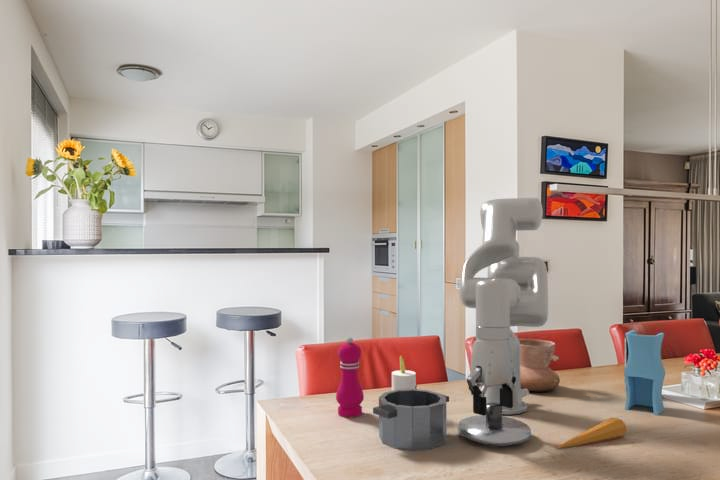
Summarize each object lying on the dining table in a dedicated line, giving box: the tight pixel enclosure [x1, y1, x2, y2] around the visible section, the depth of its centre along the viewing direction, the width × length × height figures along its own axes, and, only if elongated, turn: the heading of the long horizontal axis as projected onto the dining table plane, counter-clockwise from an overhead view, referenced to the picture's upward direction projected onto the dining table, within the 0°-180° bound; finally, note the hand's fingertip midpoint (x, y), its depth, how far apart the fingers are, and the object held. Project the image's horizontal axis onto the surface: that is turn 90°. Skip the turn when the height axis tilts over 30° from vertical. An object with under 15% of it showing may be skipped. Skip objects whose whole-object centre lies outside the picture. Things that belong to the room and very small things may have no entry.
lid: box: [457, 403, 532, 447], centre depth 121 cm, size 16×16×8 cm
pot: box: [372, 388, 450, 451], centre depth 121 cm, size 19×15×9 cm
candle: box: [391, 355, 418, 391], centre depth 139 cm, size 6×6×15 cm
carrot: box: [555, 417, 628, 449], centre depth 118 cm, size 20×4×4 cm, turn 114°
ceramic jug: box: [518, 338, 561, 393], centre depth 163 cm, size 18×14×14 cm
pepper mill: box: [335, 336, 365, 418], centre depth 139 cm, size 7×7×20 cm
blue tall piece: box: [623, 329, 666, 416], centre depth 141 cm, size 8×8×20 cm
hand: (493, 410), depth 120 cm, fingers open, 9 cm apart
